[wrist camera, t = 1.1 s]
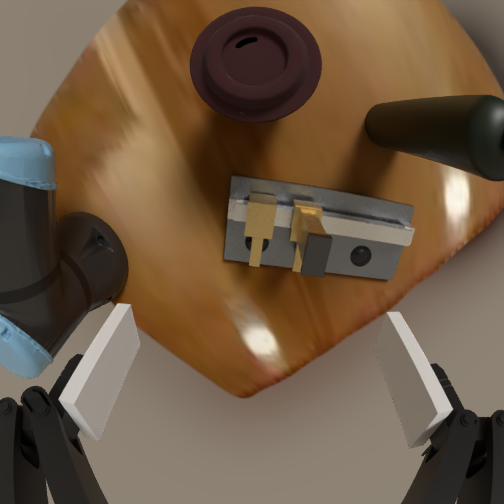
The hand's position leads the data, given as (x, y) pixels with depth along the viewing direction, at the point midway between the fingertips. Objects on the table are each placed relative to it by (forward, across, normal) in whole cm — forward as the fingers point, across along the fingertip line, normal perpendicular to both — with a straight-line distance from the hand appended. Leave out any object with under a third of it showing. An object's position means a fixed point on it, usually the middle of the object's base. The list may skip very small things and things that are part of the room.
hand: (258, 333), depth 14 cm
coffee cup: (+25, 0, +15) cm, 29 cm away
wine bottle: (+24, +15, +11) cm, 31 cm away
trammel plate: (+24, +8, -3) cm, 26 cm away
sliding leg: (+23, +5, -3) cm, 24 cm away
